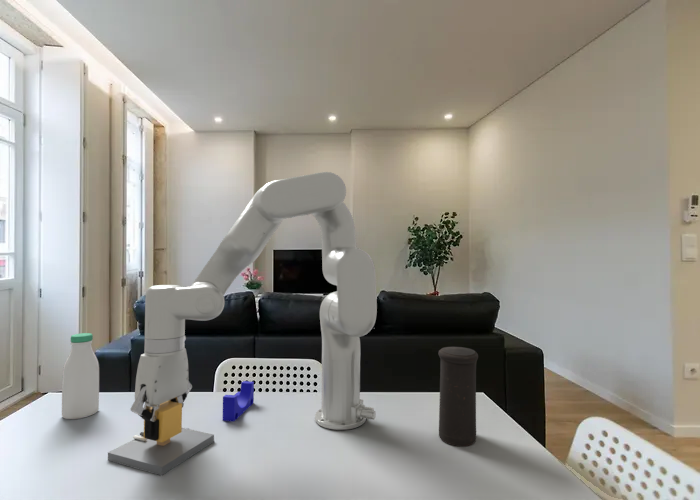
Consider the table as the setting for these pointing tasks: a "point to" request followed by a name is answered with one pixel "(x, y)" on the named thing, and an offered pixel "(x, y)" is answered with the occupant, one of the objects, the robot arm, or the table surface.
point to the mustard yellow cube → (168, 420)
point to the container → (457, 396)
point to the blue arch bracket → (238, 402)
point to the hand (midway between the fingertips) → (163, 432)
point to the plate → (160, 451)
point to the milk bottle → (80, 379)
